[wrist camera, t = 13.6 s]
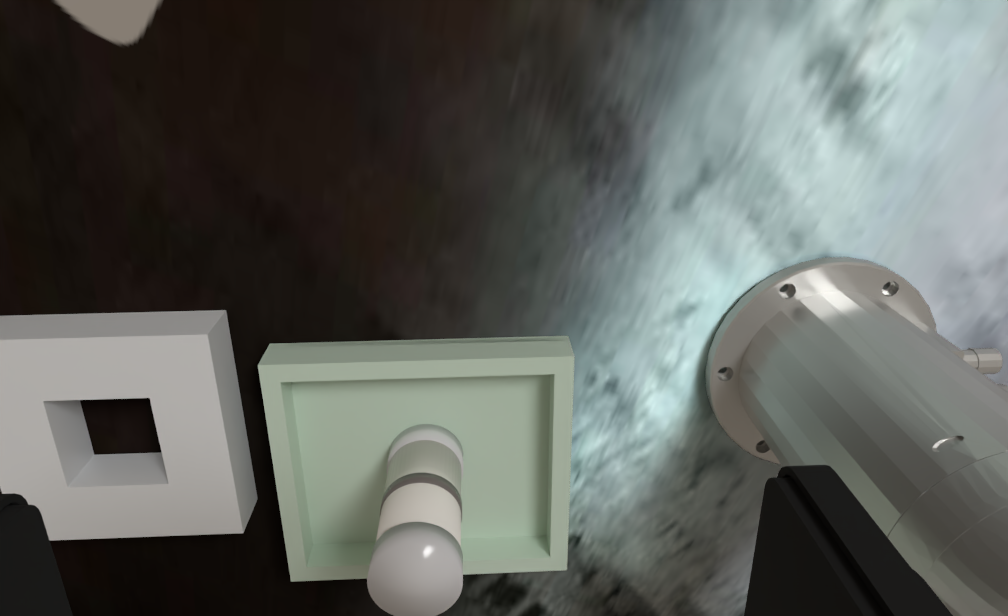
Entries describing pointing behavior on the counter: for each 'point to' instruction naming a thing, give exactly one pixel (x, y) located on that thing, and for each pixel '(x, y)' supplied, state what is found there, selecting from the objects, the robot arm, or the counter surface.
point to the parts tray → (412, 401)
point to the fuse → (419, 525)
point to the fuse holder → (123, 375)
